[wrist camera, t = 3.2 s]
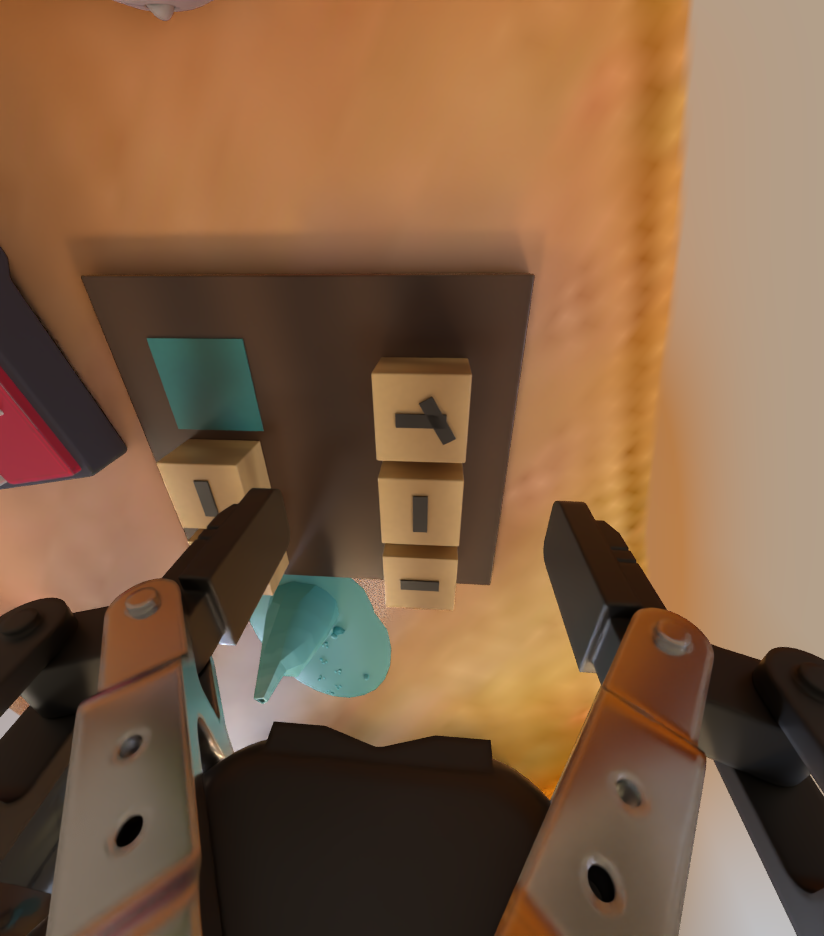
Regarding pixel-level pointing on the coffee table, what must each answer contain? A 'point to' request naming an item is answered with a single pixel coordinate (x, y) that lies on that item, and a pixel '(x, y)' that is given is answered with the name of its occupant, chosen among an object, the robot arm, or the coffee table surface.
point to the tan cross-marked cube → (421, 409)
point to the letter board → (324, 411)
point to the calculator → (44, 404)
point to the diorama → (320, 637)
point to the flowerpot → (164, 6)
